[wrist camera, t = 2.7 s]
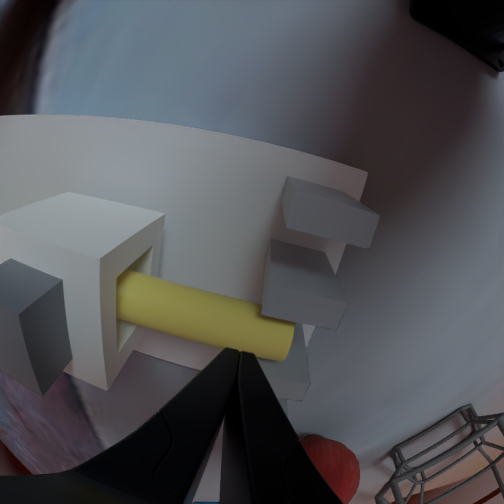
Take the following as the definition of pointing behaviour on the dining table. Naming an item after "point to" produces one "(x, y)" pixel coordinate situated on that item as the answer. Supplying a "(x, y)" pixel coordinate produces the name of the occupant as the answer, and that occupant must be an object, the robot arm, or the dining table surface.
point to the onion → (334, 465)
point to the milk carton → (205, 503)
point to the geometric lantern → (444, 456)
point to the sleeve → (71, 287)
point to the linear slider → (207, 232)
